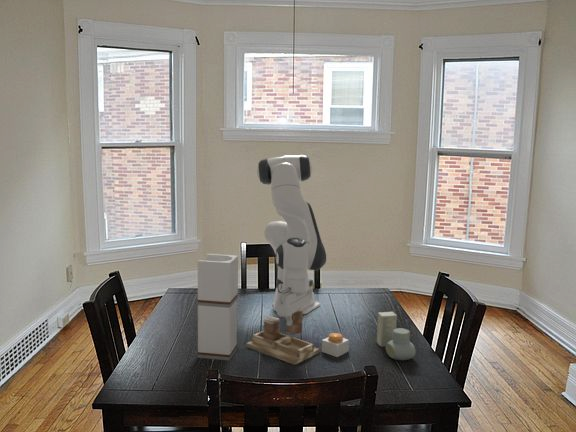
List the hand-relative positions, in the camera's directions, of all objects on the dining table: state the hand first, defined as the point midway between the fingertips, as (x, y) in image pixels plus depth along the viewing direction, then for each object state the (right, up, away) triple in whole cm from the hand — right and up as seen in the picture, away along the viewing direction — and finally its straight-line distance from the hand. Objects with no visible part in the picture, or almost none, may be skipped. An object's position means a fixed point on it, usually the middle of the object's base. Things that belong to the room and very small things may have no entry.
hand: (294, 322), depth 204 cm
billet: (0, -4, +1) cm, 4 cm away
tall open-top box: (-27, -12, +2) cm, 30 cm away
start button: (+15, -9, +5) cm, 18 cm away
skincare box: (+35, -11, +13) cm, 39 cm away
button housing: (+15, -12, +5) cm, 20 cm away
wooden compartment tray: (-4, -11, +6) cm, 13 cm away
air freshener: (+38, -13, +2) cm, 40 cm away
